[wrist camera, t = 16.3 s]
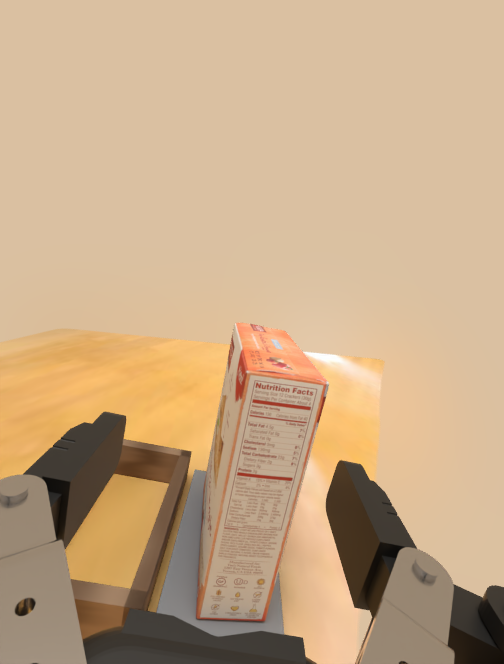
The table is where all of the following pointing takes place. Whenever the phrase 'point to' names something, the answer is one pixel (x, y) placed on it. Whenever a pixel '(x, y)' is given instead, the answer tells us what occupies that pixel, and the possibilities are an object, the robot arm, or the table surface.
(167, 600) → the flat gray rectangular board
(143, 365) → the table surface
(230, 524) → the cracker box
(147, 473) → the walnut collar
